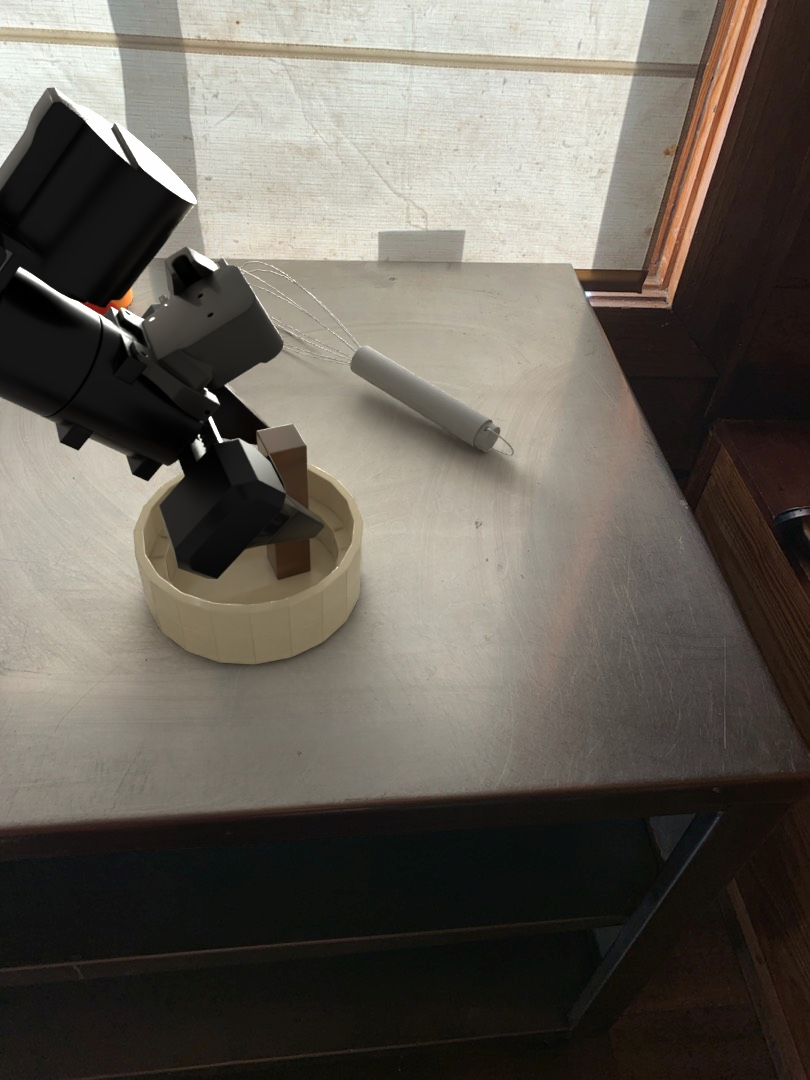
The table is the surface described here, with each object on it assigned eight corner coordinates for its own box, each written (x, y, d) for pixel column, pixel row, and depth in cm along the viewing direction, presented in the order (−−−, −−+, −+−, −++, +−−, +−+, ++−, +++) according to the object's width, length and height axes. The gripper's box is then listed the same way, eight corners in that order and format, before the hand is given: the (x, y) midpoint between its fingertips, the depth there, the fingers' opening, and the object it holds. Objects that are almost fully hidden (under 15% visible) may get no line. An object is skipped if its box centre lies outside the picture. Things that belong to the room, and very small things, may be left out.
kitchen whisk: (490, 481, 63) (501, 416, 59) (211, 325, 77) (203, 263, 73) (532, 447, 66) (546, 383, 62) (257, 303, 81) (253, 244, 76)
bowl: (156, 689, 47) (140, 632, 44) (142, 528, 57) (128, 470, 53) (383, 644, 51) (387, 588, 47) (335, 499, 60) (334, 443, 56)
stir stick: (277, 580, 54) (267, 454, 46) (266, 556, 55) (255, 430, 47) (311, 571, 54) (307, 445, 47) (299, 548, 56) (293, 422, 48)
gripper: (221, 336, 30) (449, 485, 42) (128, 159, 42) (326, 314, 53) (57, 533, 33) (311, 622, 45) (12, 317, 45) (223, 431, 56)
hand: (293, 482), depth 50 cm, fingers open, 9 cm apart
